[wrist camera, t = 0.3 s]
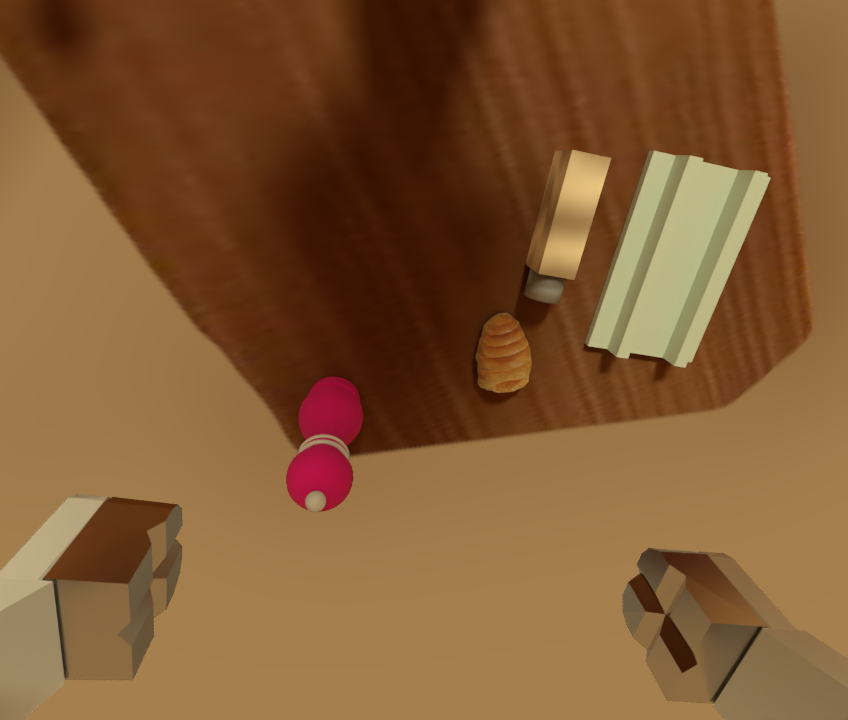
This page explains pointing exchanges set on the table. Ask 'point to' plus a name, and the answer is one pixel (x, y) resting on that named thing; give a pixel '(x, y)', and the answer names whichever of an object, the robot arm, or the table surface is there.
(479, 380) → the pastry
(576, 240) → the grey-capped wooden block
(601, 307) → the grooved moulding strip
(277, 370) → the table surface
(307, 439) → the pepper mill
